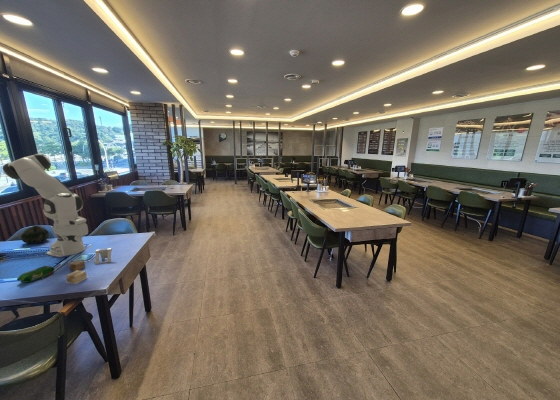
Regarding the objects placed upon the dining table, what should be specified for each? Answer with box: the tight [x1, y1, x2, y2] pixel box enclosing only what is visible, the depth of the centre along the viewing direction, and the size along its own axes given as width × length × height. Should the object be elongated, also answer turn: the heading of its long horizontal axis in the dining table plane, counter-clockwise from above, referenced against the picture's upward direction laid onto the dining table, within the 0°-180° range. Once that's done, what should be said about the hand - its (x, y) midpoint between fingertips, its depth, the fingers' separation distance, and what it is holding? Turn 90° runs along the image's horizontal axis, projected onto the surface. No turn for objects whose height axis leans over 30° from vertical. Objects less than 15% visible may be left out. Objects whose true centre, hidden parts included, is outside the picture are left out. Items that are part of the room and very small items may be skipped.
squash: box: [20, 225, 50, 244], centre depth 180 cm, size 14×15×15 cm
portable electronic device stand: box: [93, 248, 113, 265], centre depth 152 cm, size 9×8×8 cm
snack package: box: [16, 265, 55, 283], centre depth 131 cm, size 7×16×5 cm, turn 162°
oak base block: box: [65, 270, 88, 284], centre depth 129 cm, size 6×6×4 cm
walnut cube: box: [68, 260, 86, 272], centre depth 141 cm, size 5×5×5 cm
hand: (72, 241), depth 138 cm, fingers open, 8 cm apart
